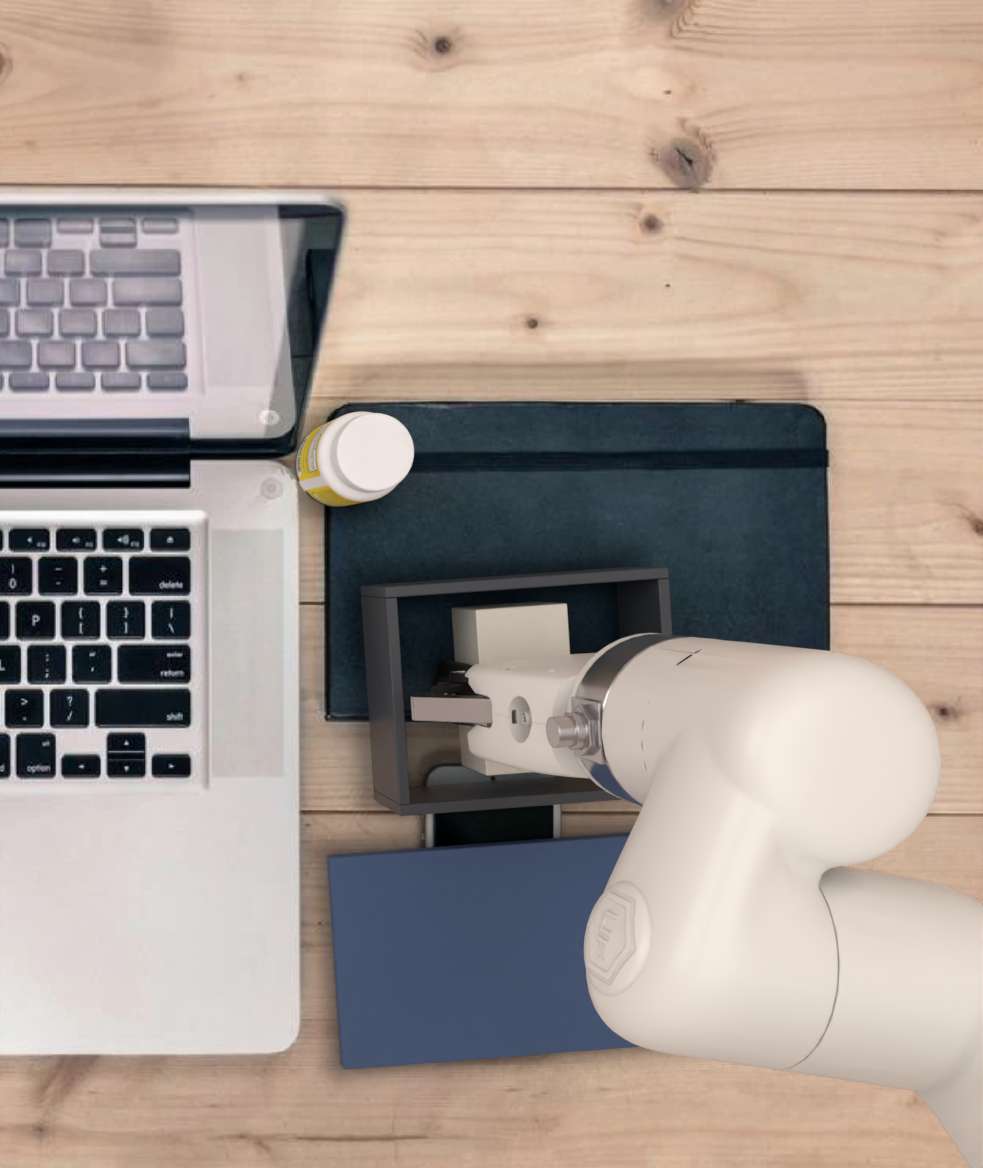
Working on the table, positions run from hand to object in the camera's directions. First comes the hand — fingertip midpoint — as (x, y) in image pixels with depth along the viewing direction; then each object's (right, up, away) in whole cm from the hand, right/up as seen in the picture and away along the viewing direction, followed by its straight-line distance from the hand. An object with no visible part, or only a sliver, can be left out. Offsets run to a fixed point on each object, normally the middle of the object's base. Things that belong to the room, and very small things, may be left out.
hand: (504, 684), depth 74 cm
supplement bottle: (-9, +12, +1) cm, 16 cm away
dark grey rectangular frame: (0, 0, +1) cm, 1 cm away
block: (0, 0, +1) cm, 1 cm away
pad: (0, -15, +2) cm, 15 cm away
